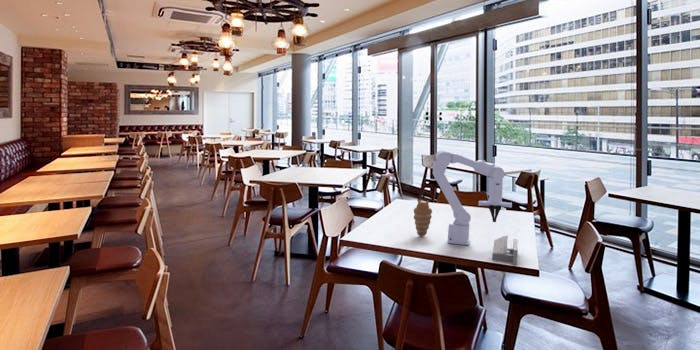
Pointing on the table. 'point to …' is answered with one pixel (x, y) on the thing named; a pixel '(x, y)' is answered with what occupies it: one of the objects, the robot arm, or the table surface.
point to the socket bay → (508, 257)
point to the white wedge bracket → (501, 245)
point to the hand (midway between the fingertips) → (494, 221)
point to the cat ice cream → (422, 217)
